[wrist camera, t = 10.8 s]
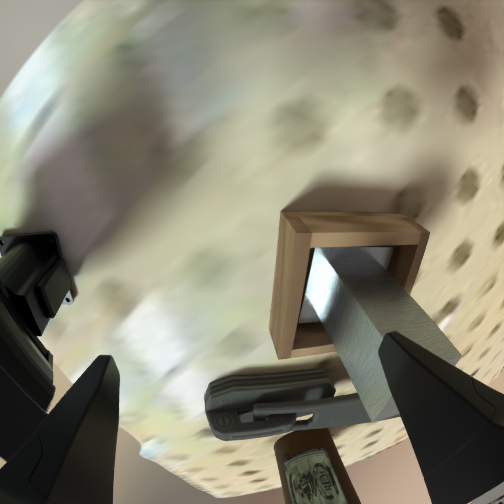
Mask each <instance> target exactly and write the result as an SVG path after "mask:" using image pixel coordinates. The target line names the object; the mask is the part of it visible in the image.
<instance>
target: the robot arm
mask: <svg viewBox="0 0 504 504" xmlns="http://www.w3.org/2000/svg"><path fill="white" fill-rule="evenodd" d="M50 237H52V239H53V240H51V239H50ZM2 241H3V242H2ZM0 252H1V256H2V257H1V258H0V458H2V459H3V460H4V461H6V462H7V463H6V464H5V465H4V466H3V467H2V468H1V469H0V504H113V482H114V466H115V465H114V464H115V453H116V443H117V433H118V424H119V388H120V374H119V371H118V368H117V366H116V363H115V361H114V359H113V357H112V356H111V355H99V356H98V357H97V358H96V359H95V360H94V361H93V362H92V364H91V365H90V366H89V367H88V368H87V369H86V370H85V372H84V373H83V374H82V375H81V376H80V377H79V378H78V380H77V381H76V382H75V383H74V384H73V385H72V387H71V388H70V389H69V390H68V391H67V393H66V394H65V395H64V396H63V397H62V398H61V400H60V401H59V402H58V403H57V404H56V406H55V407H54V408H53V409H52V410H51V412H50V413H49V414H47V413H46V412H47V411H48V409H49V407H50V404H51V402H52V400H53V397H54V394H55V386H54V385H53V371H52V369H53V368H52V367H53V355H52V354H51V353H50V351H49V350H47V349H46V348H45V347H44V345H43V344H42V343H41V341H40V340H39V339H38V337H37V336H42V334H43V332H44V330H45V328H46V326H47V324H48V322H49V320H50V318H54V317H55V315H56V313H57V311H58V310H59V308H60V306H61V304H62V305H71V304H72V303H73V301H74V295H73V292H72V289H71V282H70V279H69V275H68V272H67V268H66V264H65V261H64V259H63V257H62V254H61V250H60V245H59V241H58V237H57V235H56V233H54V232H52V231H49V232H36V233H24V234H12V235H2V236H0ZM68 298H69V299H68ZM378 355H379V358H380V361H381V365H382V368H383V371H384V374H385V377H386V380H387V384H388V387H389V389H390V392H391V395H392V397H393V399H394V402H395V404H396V406H397V409H398V411H399V414H400V416H401V419H402V421H403V424H404V426H405V429H406V431H407V434H408V436H409V439H410V441H411V444H412V446H413V449H414V452H415V455H416V458H417V460H418V463H419V466H420V469H421V472H422V474H423V477H424V481H425V484H426V486H427V489H428V493H429V496H430V499H431V502H432V504H467V503H469V502H472V503H471V504H504V394H502V393H500V392H498V391H496V390H494V389H492V388H490V387H489V386H487V385H485V384H483V383H482V382H480V381H478V380H476V379H475V378H473V377H472V376H471V377H470V375H468V374H467V373H465V372H463V371H462V370H460V369H458V368H457V367H455V366H453V365H452V364H450V363H448V362H447V361H445V360H444V359H442V358H440V357H439V356H437V355H435V354H434V353H432V352H430V351H429V350H427V349H425V348H424V347H422V346H420V345H419V344H417V343H415V342H414V341H412V340H410V339H409V338H407V337H405V336H404V335H402V334H400V333H399V332H397V331H393V332H388V333H386V334H385V335H384V337H383V340H382V342H381V344H380V346H379V349H378Z"/></svg>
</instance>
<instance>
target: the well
mask: <svg viewBox="0 0 504 504" xmlns="http://www.w3.org/2000/svg"><path fill="white" fill-rule="evenodd" d="M429 235H430V232H429V231H428V230H426V229H425V228H423V227H422V226H420V225H419V224H417V223H416V222H415V221H413V220H412V219H410V218H409V217H407V216H406V215H404V214H395V213H368V212H326V211H281V213H280V225H279V235H278V246H277V256H276V266H275V276H274V286H273V295H272V304H271V313H270V322H269V331H270V334H271V337H272V341H273V344H274V347H275V350H276V353H277V357H278V360H279V359H287V358H295V357H303V356H310V355H316V354H323V353H329V352H335V351H336V349H335V347H334V345H333V343H332V341H331V339H330V337H329V335H328V333H327V332H326V330H325V328H324V326H323V324H322V322H309V323H298V317H299V311H300V306H301V300H302V295H303V289H304V283H305V277H306V271H307V265H308V259H309V252H310V248H318V247H351V246H384V245H392V246H393V247H394V249H393V252H392V255H391V258H390V262H389V265H388V268H387V271H388V272H389V274H390V275H391V276H392V277H393V278H394V279H395V280H396V281H397V282H398V283H399V284H400V285H401V286H402V287H403V288H404V289H405V290H406V292H407V293H408V294H409V295H410V293H411V290H412V287H413V285H414V282H415V279H416V276H417V273H418V270H419V267H420V264H421V261H422V258H423V255H424V252H425V249H426V245H427V242H428V239H429Z"/></svg>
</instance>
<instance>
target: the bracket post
mask: <svg viewBox="0 0 504 504" xmlns="http://www.w3.org/2000/svg"><path fill="white" fill-rule="evenodd" d="M393 249H394V247H393V246H392V245H384V246H351V247H318V248H310V252H309V259H308V265H307V271H306V277H305V283H304V289H303V295H302V300H301V306H300V311H299V317H298V323H309V322H322V324H323V326H324V328H325V330H326V332H327V333H328V335H329V337H330V339H331V341H332V343H333V345H334V347H335V349H336V351H337V353H338V355H339V357H340V359H341V361H342V363H343V365H344V367H345V369H346V371H347V373H348V375H349V377H350V379H351V381H352V383H353V385H354V387H355V389H356V391H357V393H358V395H359V397H360V399H361V401H362V403H363V405H364V407H365V409H366V411H367V413H368V415H369V417H370V419H371V421H372V423H373V422H376V421H379V420H382V419H385V418H388V417H391V416H394V415H397V414H399V411H398V409H397V406H396V404H395V402H394V399H393V397H392V395H391V392H390V389H389V387H388V384H387V380H386V377H385V374H384V371H383V368H382V365H381V361H380V358H379V355H378V349H379V346H380V344H381V342H382V340H383V337H384V335H385V334H386V333H388V332H393V331H397V332H399V333H400V334H402V335H404V336H405V337H407V338H409V339H410V340H412V341H414V342H415V343H417V344H419V345H420V346H422V347H424V348H425V349H427V350H429V351H430V352H432V353H434V354H435V355H437V356H439V357H440V358H442V359H444V360H445V361H447V362H448V363H450V364H452V365H453V366H455V365H456V364H457V362H458V361H459V359H460V358H461V356H462V355H461V354H460V353H459V351H458V350H457V349H456V348H455V347H454V345H453V344H452V343H451V342H450V340H449V339H448V338H447V337H446V336H445V334H444V333H443V332H442V331H441V330H440V329H439V327H438V326H437V325H436V324H435V323H434V322H433V320H432V319H431V318H430V317H429V316H428V315H427V314H426V312H425V311H424V310H423V309H422V308H421V307H420V306H419V305H418V304H417V302H416V301H415V300H414V299H413V298H412V297H411V296H410V295H409V294H408V293H407V292H406V290H405V289H404V288H403V287H402V286H401V285H400V284H399V283H398V282H397V281H396V280H395V279H394V278H393V277H392V276H391V275H390V274H389V272H388V271H387V268H388V265H389V262H390V258H391V255H392V252H393Z"/></svg>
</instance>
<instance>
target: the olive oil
mask: <svg viewBox="0 0 504 504" xmlns="http://www.w3.org/2000/svg"><path fill="white" fill-rule="evenodd" d="M274 451H275V455H276V460H277V464H278V469H279V474H280V479H281V484H282V488H283V494H284V499H285V504H361V502H360V500H359V498H358V496H357V493H356V491H355V489H354V487H353V485H352V483H351V480H350V478H349V476H348V474H347V471H346V469H345V467H344V465H343V462H342V460H341V458H340V456H339V453H338V451H337V449H336V446H335V444H334V441H333V439H332V437H331V434H330V432H329V430H328V429H326V428H319V429H307V430H299V431H296V432H293V433H291V434H288V435H286V436H284V437H282V438H281V439H279V440H278V441H277V442H276V443H275V445H274Z"/></svg>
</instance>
